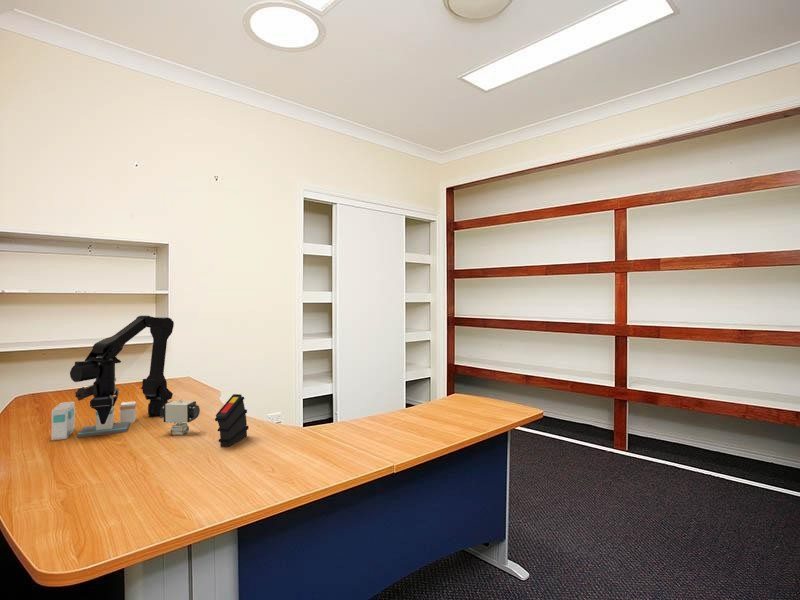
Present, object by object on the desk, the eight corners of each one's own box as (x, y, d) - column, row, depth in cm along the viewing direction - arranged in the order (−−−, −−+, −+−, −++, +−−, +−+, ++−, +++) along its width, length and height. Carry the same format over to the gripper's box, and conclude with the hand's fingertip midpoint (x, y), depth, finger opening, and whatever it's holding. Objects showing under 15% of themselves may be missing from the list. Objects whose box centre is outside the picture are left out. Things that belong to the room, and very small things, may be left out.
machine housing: (76, 428, 152) (76, 401, 152) (67, 438, 141) (67, 409, 141) (60, 430, 150) (60, 402, 150) (51, 440, 139) (51, 410, 139)
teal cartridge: (113, 425, 154) (113, 405, 154) (111, 428, 149) (112, 408, 149) (98, 426, 151) (98, 407, 151) (95, 430, 147) (95, 410, 147)
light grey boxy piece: (135, 419, 165) (136, 401, 165) (134, 422, 161) (134, 403, 161) (121, 420, 163) (121, 402, 163) (120, 423, 159) (120, 405, 159)
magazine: (253, 428, 147) (243, 393, 141) (233, 457, 136) (221, 420, 129) (243, 428, 148) (232, 393, 142) (222, 456, 136) (210, 420, 130)
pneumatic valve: (193, 436, 144) (193, 401, 144) (159, 435, 145) (159, 400, 145) (201, 431, 150) (201, 397, 150) (168, 431, 150) (168, 397, 150)
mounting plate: (129, 424, 158) (129, 421, 158) (126, 431, 149) (126, 428, 149) (83, 429, 152) (83, 426, 152) (77, 437, 143) (77, 433, 143)
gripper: (83, 374, 155) (82, 417, 155) (71, 383, 138) (70, 431, 138) (119, 372, 160) (118, 413, 160) (111, 380, 144) (111, 426, 144)
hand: (105, 420), depth 150 cm, fingers open, 9 cm apart
